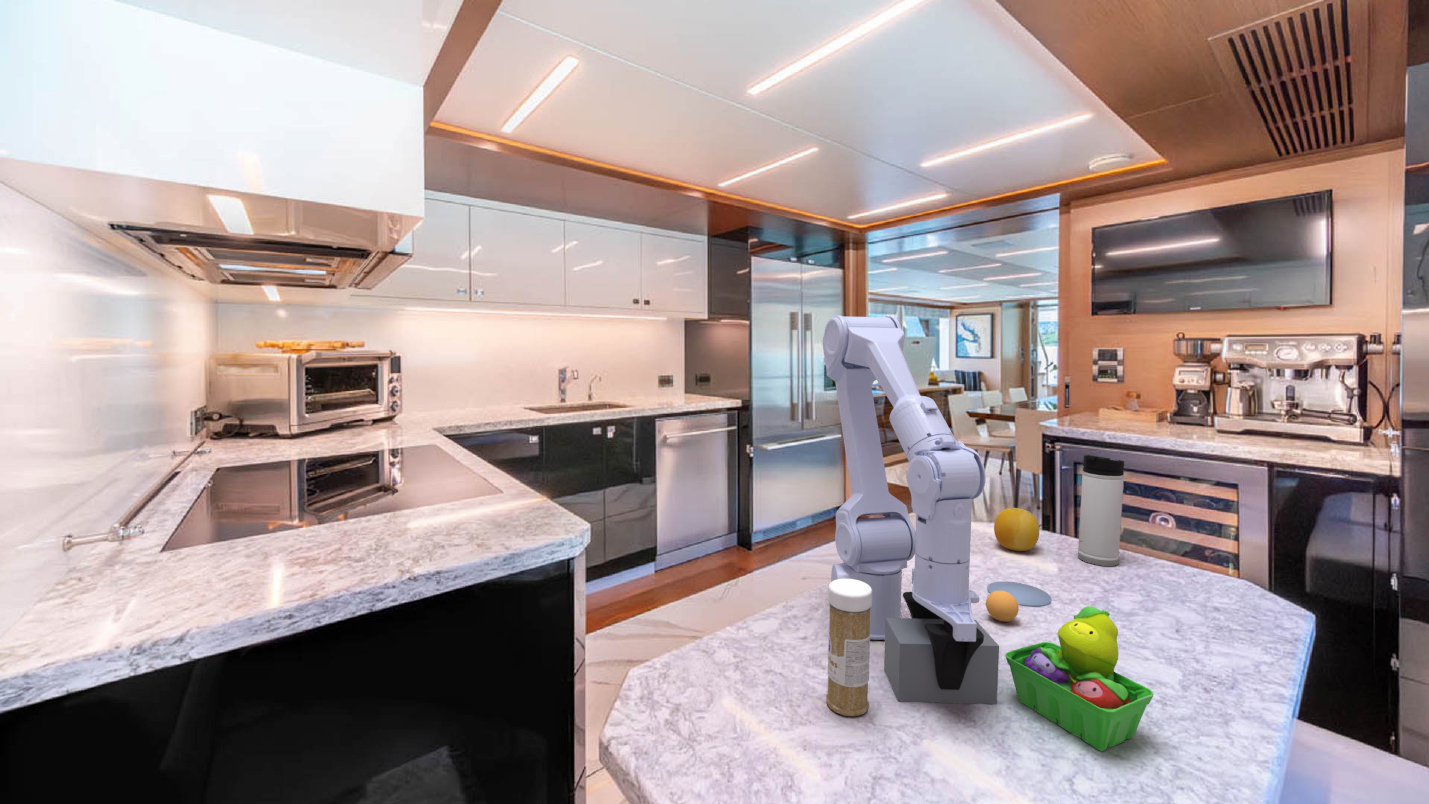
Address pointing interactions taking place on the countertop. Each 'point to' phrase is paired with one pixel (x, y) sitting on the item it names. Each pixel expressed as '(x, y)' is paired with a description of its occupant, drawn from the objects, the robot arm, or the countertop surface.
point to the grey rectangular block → (915, 665)
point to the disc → (1022, 593)
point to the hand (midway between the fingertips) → (938, 670)
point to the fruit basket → (1081, 681)
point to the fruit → (1016, 529)
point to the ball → (1002, 606)
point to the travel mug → (1101, 510)
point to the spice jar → (849, 646)
